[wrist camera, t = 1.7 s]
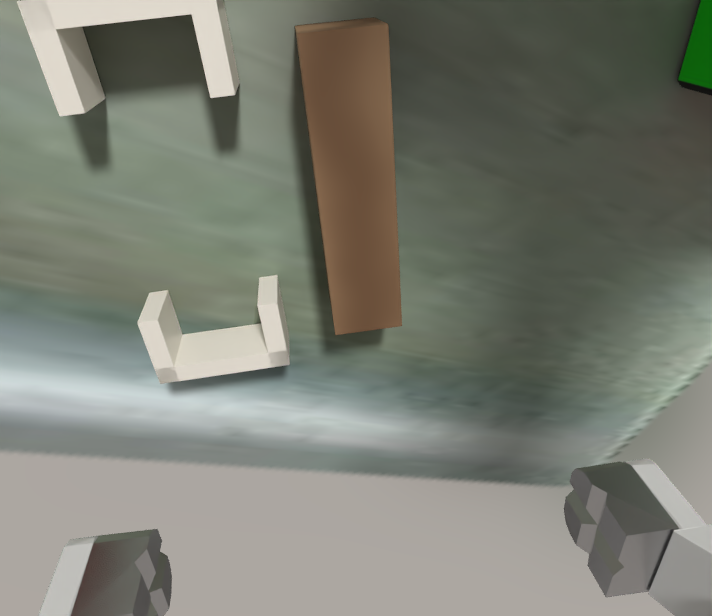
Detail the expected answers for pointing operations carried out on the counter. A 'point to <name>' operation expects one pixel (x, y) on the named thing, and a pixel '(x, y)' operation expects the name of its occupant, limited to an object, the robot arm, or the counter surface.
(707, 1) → the puzzle cube
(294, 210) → the counter surface
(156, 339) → the cap
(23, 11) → the cap
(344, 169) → the slat
